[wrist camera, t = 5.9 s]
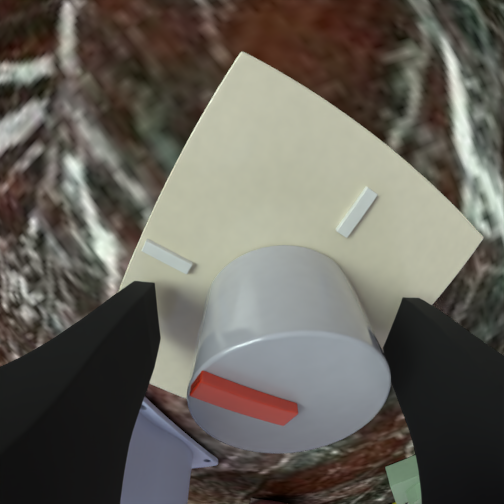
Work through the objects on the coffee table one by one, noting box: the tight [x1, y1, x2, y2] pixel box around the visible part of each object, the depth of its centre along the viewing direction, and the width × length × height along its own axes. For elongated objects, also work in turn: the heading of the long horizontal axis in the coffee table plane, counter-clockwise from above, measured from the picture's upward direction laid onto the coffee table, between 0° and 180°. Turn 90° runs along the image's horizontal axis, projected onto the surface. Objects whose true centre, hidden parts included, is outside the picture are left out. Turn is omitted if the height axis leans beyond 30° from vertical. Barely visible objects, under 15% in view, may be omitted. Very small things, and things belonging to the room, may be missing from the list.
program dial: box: [187, 245, 391, 454], centre depth 7 cm, size 4×4×4 cm
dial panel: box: [118, 52, 483, 399], centre depth 10 cm, size 11×9×3 cm
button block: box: [385, 455, 422, 504], centre depth 20 cm, size 10×9×4 cm
